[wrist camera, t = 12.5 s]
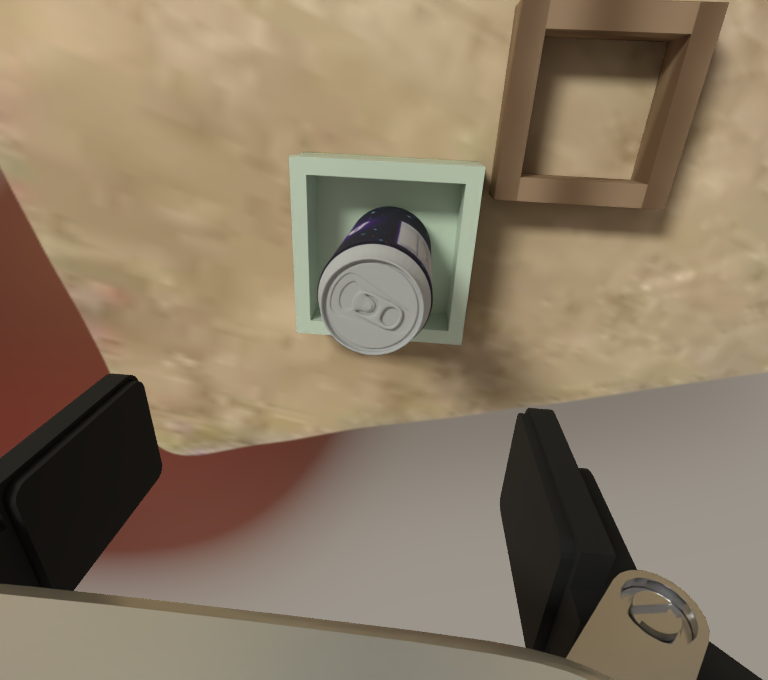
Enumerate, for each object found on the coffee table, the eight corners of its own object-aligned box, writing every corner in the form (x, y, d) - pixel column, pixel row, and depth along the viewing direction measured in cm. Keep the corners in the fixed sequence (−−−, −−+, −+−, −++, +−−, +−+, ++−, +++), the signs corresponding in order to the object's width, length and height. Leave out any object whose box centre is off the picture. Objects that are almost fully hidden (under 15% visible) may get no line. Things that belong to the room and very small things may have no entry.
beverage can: (371, 188, 30) (340, 225, 19) (445, 228, 31) (456, 285, 20) (337, 262, 32) (293, 331, 22) (407, 297, 33) (397, 380, 22)
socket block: (702, 13, 25) (729, 2, 23) (646, 203, 30) (664, 209, 28) (515, 6, 26) (524, -5, 24) (489, 194, 30) (494, 199, 28)
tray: (478, 161, 30) (485, 166, 26) (457, 322, 35) (461, 345, 31) (305, 152, 30) (288, 156, 27) (309, 311, 35) (296, 332, 32)
